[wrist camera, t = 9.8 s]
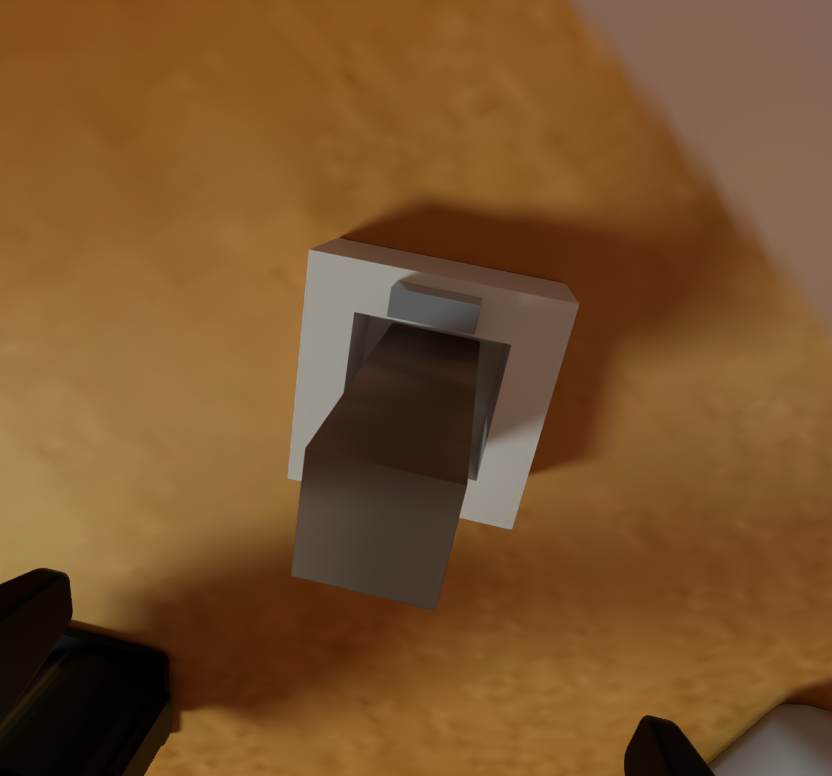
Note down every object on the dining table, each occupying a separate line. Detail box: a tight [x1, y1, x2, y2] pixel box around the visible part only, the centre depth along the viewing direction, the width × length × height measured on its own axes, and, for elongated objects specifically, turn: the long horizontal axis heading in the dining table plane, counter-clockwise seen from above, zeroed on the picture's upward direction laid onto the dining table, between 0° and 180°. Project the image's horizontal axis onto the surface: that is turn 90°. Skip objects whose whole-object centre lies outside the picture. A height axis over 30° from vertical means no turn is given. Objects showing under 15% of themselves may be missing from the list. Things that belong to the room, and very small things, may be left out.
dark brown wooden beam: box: [291, 323, 480, 611], centre depth 14 cm, size 3×3×9 cm
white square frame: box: [288, 238, 579, 530], centre depth 17 cm, size 8×8×4 cm
